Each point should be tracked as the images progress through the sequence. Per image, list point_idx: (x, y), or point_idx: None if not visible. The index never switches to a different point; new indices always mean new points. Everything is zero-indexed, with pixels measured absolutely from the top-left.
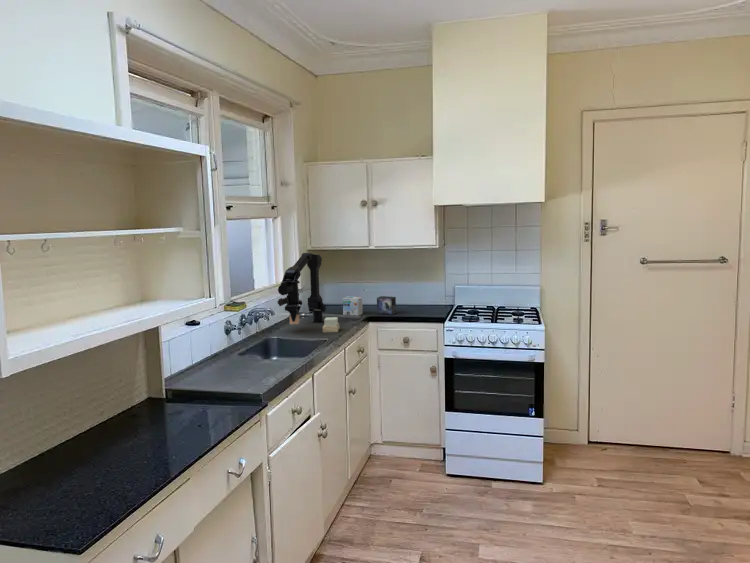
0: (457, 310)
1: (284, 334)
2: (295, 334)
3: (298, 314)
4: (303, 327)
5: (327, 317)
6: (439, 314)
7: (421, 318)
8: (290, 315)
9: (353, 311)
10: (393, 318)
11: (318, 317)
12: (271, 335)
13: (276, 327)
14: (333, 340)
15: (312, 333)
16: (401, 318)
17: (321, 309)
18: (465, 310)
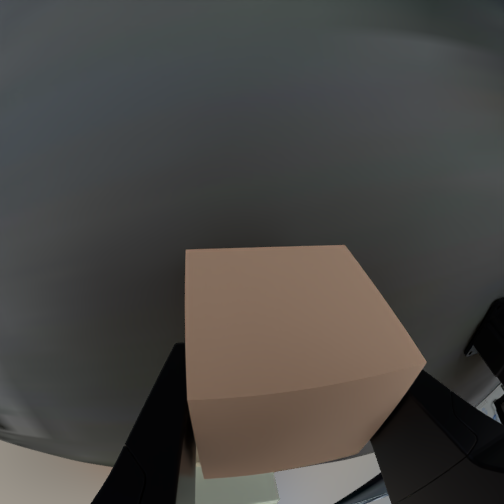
0: (384, 495)
1: (39, 156)
2: (58, 283)
3: (354, 451)
4: (391, 287)
5: (277, 501)
6: (366, 497)
7: (343, 499)
8: (305, 395)
9: (494, 406)
10: (376, 477)
11: (487, 362)
12: (3, 9)
13: (469, 10)
14: (17, 443)
15: (125, 391)
16: (365, 485)
17: (500, 417)
18: (377, 499)
